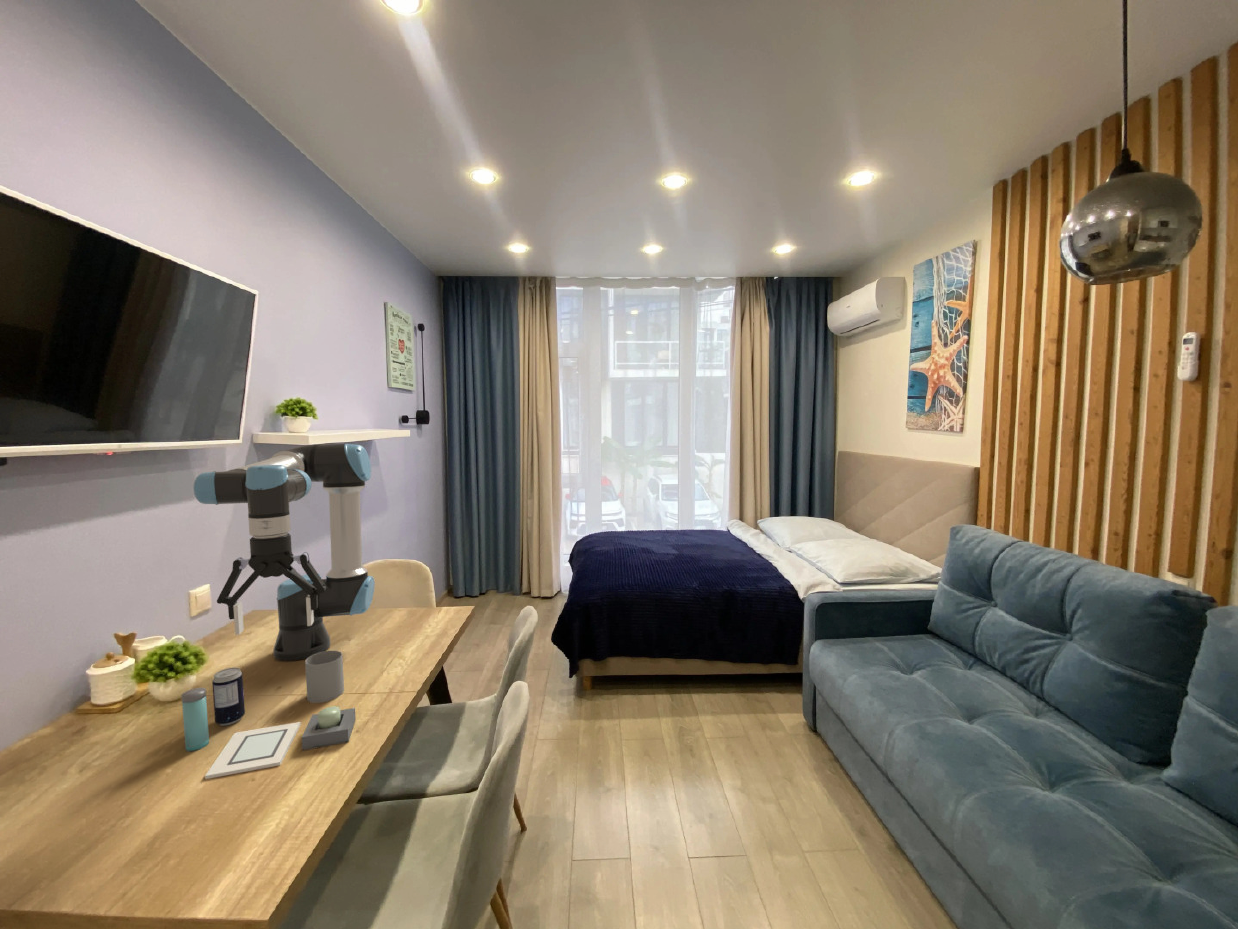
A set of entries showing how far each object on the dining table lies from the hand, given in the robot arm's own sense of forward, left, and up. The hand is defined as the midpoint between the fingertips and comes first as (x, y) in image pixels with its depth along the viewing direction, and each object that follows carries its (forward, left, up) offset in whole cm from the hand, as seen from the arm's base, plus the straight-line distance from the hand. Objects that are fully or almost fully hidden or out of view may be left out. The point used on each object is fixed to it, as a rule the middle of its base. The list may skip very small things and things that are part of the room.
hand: (275, 628), depth 113 cm
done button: (+3, +10, -23) cm, 25 cm away
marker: (-2, -17, -25) cm, 30 cm away
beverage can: (-11, -14, -25) cm, 31 cm away
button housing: (+3, +10, -25) cm, 27 cm away
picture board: (+4, -4, -25) cm, 26 cm away
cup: (-17, +5, -25) cm, 31 cm away
